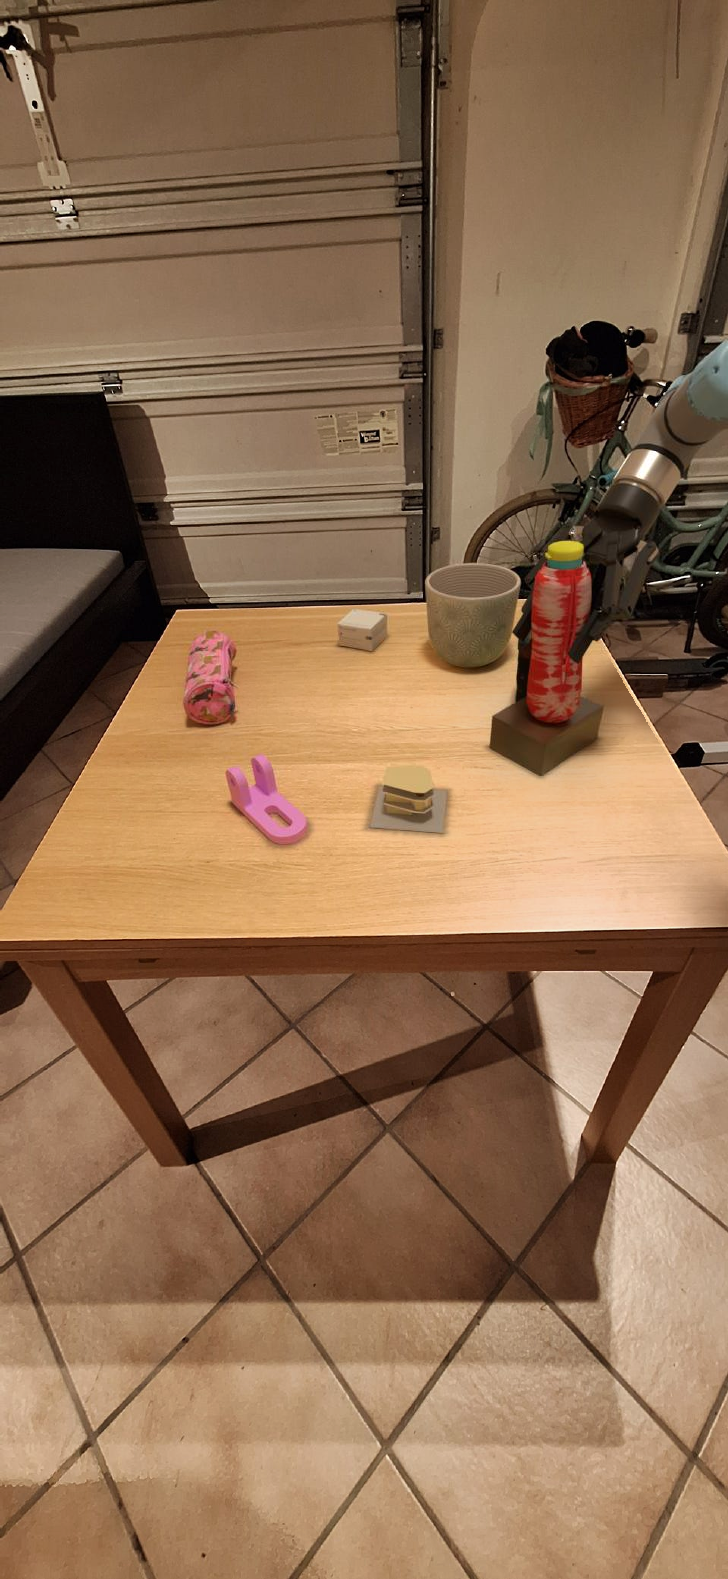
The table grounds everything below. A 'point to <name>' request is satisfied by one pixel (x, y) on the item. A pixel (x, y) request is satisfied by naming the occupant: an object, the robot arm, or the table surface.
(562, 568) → the water bottle
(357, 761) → the table surface
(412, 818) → the stacked layers on plate
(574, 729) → the walnut stand
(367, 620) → the small box
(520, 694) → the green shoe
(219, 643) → the pencil case
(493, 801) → the table surface
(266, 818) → the bracket
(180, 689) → the table surface
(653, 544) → the robot arm
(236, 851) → the table surface
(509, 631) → the planter
